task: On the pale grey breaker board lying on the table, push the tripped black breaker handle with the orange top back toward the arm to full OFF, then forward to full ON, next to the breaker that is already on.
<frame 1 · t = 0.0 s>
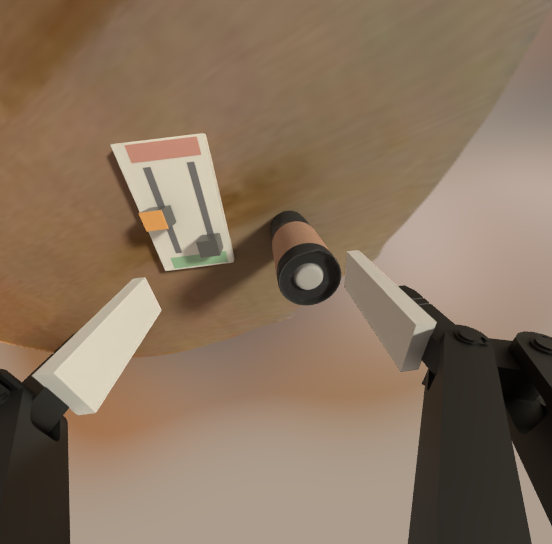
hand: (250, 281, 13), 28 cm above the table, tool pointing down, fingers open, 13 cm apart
breaker handle: (158, 218, 34), point 4 cm above the table, slide at 6.0 cm
breaker board: (184, 210, 38), on the table
travel mug: (288, 228, 41), on the table
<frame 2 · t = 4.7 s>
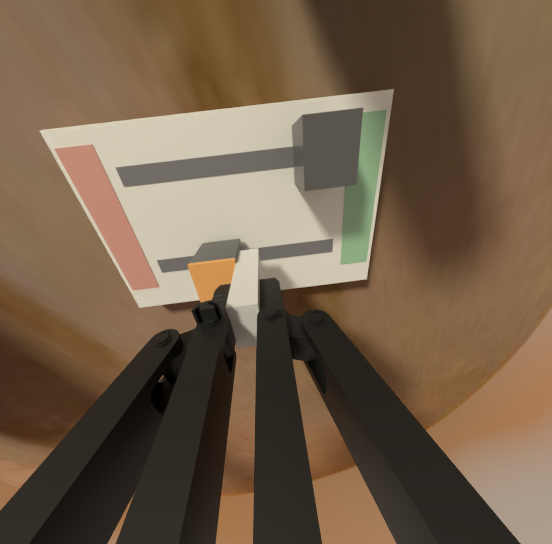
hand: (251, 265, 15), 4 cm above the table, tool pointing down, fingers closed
breaker handle: (222, 271, 15), point 4 cm above the table, slide at 4.3 cm, touching gripper
breaker board: (241, 215, 18), on the table
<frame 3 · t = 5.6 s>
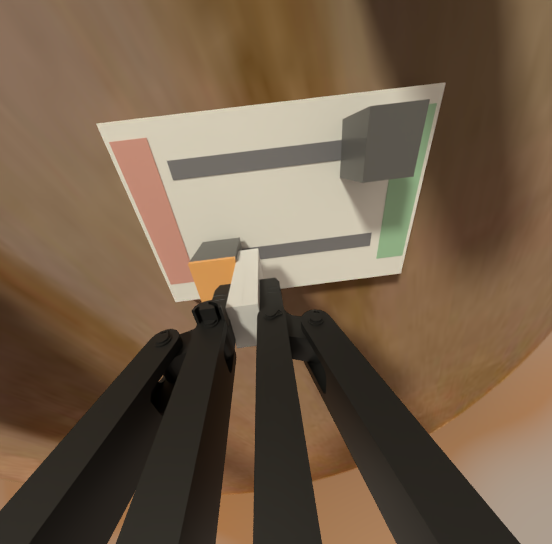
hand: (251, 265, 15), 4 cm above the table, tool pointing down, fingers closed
breaker handle: (222, 270, 15), point 4 cm above the table, slide at 0.9 cm, touching gripper
breaker board: (280, 209, 18), on the table
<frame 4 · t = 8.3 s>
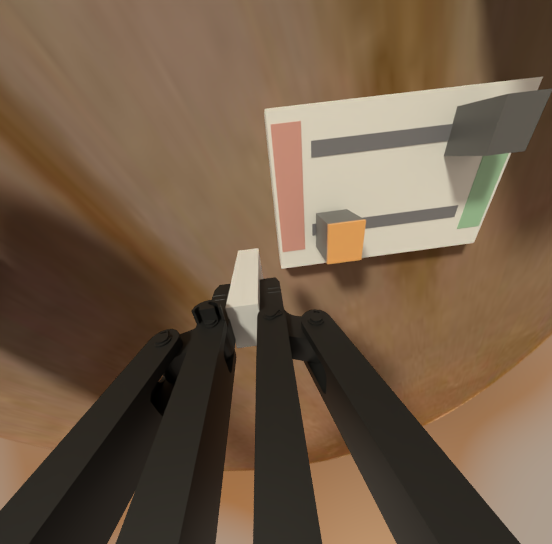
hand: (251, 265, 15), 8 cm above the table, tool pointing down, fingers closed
breaker handle: (337, 235, 18), point 4 cm above the table, slide at 0.3 cm
breaker board: (378, 186, 21), on the table
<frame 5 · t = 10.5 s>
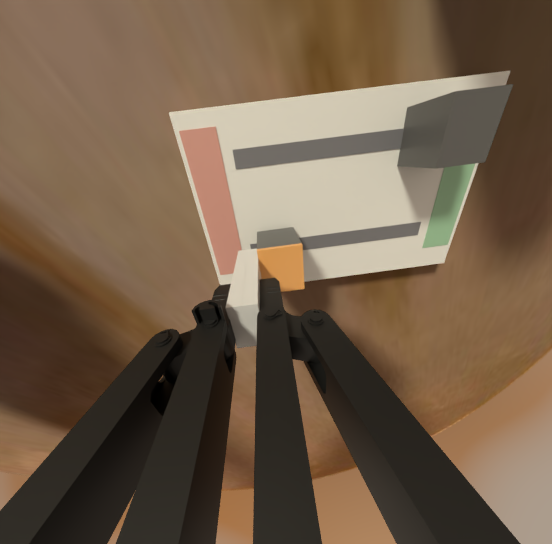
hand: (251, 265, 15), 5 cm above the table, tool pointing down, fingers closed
breaker handle: (279, 258, 16), point 4 cm above the table, slide at 0.8 cm, touching gripper
breaker board: (329, 199, 18), on the table
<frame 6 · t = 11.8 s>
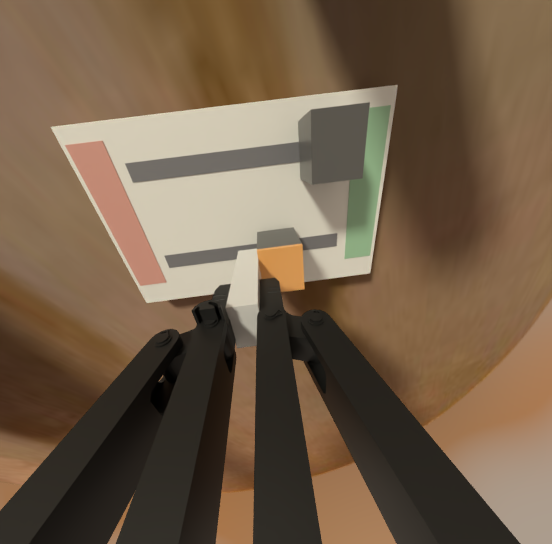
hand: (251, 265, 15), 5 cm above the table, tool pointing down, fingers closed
breaker handle: (279, 259, 16), point 4 cm above the table, slide at 8.2 cm, touching gripper
breaker board: (247, 210, 18), on the table
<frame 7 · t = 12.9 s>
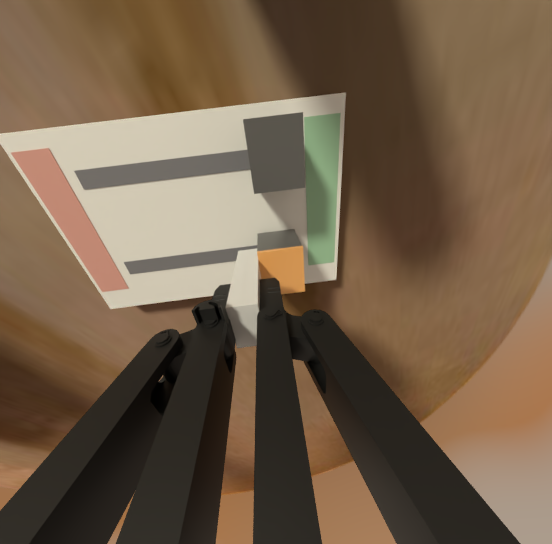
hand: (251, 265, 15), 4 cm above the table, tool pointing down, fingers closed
breaker handle: (280, 260, 16), point 4 cm above the table, slide at 11.6 cm, touching gripper
breaker board: (209, 217, 18), on the table
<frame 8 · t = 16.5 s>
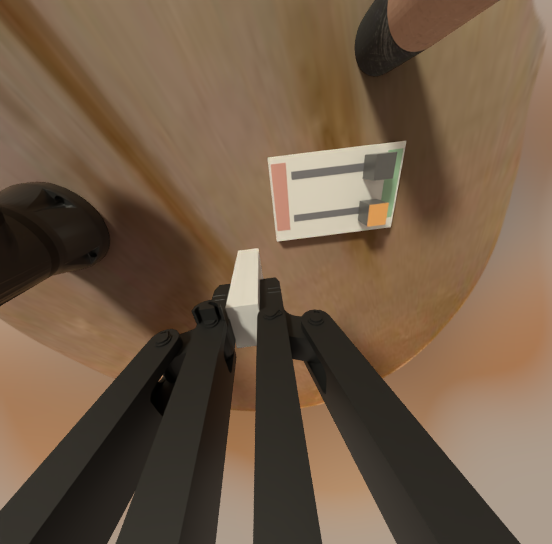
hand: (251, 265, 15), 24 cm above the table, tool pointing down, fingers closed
breaker handle: (372, 212, 35), point 4 cm above the table, slide at 11.7 cm
breaker board: (332, 194, 37), on the table
travel mug: (379, 42, 28), on the table
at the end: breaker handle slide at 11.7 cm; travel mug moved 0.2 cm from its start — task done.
